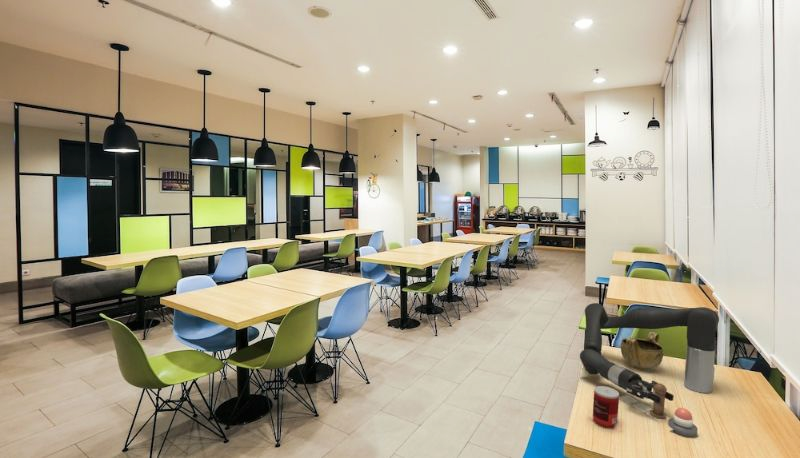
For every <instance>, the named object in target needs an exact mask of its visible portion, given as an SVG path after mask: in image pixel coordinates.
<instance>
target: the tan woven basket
mask: <svg viewBox="0 0 800 458" xmlns="http://www.w3.org/2000/svg"><path fill="white" fill-rule="evenodd" d="M646 336H647V337H646V338H645V339H644V338H643V339H642V338H638V337H624V338H622V339H621V343H620V352H621V356H622V358H623V360H624V361H626V363H628V364H629V365H631V366H632V367H634V368H636V369H639V370H642V371H643V370H645V371H649V370H653V369H655V368H657V367H658V366H659V365H660V364H661V363H662V361H663V357H664V347H663V346H662V345H661V344H659V340H660V335H659V333H656V332H653V331H649V333H648V334H647V335H646Z"/></svg>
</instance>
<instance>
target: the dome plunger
mask: <svg viewBox="0 0 800 458" xmlns="http://www.w3.org/2000/svg"><path fill="white" fill-rule="evenodd" d="M692 414H693V413H692V412H690V410H688V409H687V408H684V407H679V408H677V409H675V411H674V413H673V418H674V420H673V421H674V423H676V424H677V425H679V426H682V427H686V428H691V427H692V425H693V424H694V418H693V415H692Z"/></svg>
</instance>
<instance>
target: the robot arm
mask: <svg viewBox="0 0 800 458" xmlns="http://www.w3.org/2000/svg"><path fill="white" fill-rule="evenodd" d="M584 316H585V334H584V335H585V336H584V343H583V349H582V351H581V352H580V354H579V359H580V361H581V363H582V365H583V368H584V371H585V372H587V374H589V375H593V376H594V375H600V376H601V377H602V378H604V379H605V380H607V381H608V382H611V383H612V384H614V385H615V386H617V387H619V388H621V389H623V390H625V392H626V393H627V394H630V395H632V396H634V397H636V398H638V399H641V400H644V399H647V400H650V401H653V403H654V402H656V403H658V404H659V403H661V397H659V396H657V395H655V394H654V392H655V391H654V386H655V384H658V383H659V382H657V381H656V380H651V382H649V381H646V380H643V378H642V377H641V375H640V374H639V373H637V372H635V371H633V370H630V369H629V368H626V367H624V366H622V365H618V364H616V363H614V362H613V361H609V360H608V359H607V358H606V357H605V356H604V355H602V348H603V337H602V330H607V329H643V330H661V329H667V328H675V327H686V341H687V342H686V353H685V354H686V355H685V364H684V365H685V368H684V377H683V378H684V380H683V386H684V387H685V388H687V389H689V390H691V391H695V392H698V393H702V394H709V393H712V391H713V389H714V379H715V370H716V369H715V353H716V347H717V346H716V332H717V331H716V330H717V327H718V325H719V322H720V317H719V315H718V313H717V312H716V311H715V310H713V309H711V308H709V307H704V306H703V307H702V306H701V307H700V306H699V307H690V308H667V307H665V308H664V307H635V308H632V309H631V310H629V311H627V312H626V313H624V314H622V315H619V316H608V313H607V311H606V309H605V307H604V306H603V305H602V304H601V303H599V302H593V303H590V304H588V305H587V306H586V307H585V309H584ZM665 400H667V401H670V402H671V401H674V394H672V393H671V392H668V391H667V392H666V393H665Z"/></svg>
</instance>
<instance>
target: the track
mask: <svg viewBox="0 0 800 458" xmlns="http://www.w3.org/2000/svg"><path fill="white" fill-rule="evenodd" d="M619 400H621V401H623V402H625V403H627V404H630V405H631V406H632V407H634V408H636V409H637V410H639V411H641V412H643V413H645V412H646V413H645V414H647V415H648V416H650V417H652V418H653V419H656V421H659V422H661V421H665V420H669V419H671V417H669V416H666V419H658V418H655V417H653V416H651V415H650V410H653V407H650V406H649V405H646V404H645V403H643V402H640V401H639V400H637V399H635V398H634V397H632V396H630V395H628V394H626V395H622V396H620V395H619Z"/></svg>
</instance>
